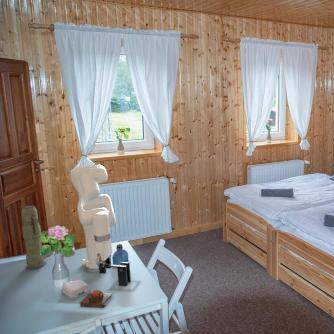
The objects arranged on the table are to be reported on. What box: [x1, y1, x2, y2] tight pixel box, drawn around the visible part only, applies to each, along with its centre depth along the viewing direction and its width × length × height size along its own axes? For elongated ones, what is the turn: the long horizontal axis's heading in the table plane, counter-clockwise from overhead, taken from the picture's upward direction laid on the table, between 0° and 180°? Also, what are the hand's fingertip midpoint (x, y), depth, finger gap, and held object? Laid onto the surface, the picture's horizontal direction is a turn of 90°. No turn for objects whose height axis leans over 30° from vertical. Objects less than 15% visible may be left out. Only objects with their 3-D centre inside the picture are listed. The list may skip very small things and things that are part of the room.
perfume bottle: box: [111, 243, 130, 266], centre depth 218 cm, size 6×6×12 cm
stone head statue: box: [20, 204, 46, 270], centre depth 216 cm, size 9×12×35 cm
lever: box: [104, 262, 127, 270], centre depth 195 cm, size 12×5×2 cm, turn 84°
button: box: [91, 289, 101, 297], centre depth 181 cm, size 4×4×2 cm
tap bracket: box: [116, 261, 132, 287], centre depth 195 cm, size 12×9×12 cm
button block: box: [79, 290, 113, 309], centre depth 181 cm, size 11×9×4 cm
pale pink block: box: [61, 279, 91, 299], centre depth 191 cm, size 5×9×15 cm
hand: (105, 270), depth 196 cm, fingers closed on lever, 5 cm apart
